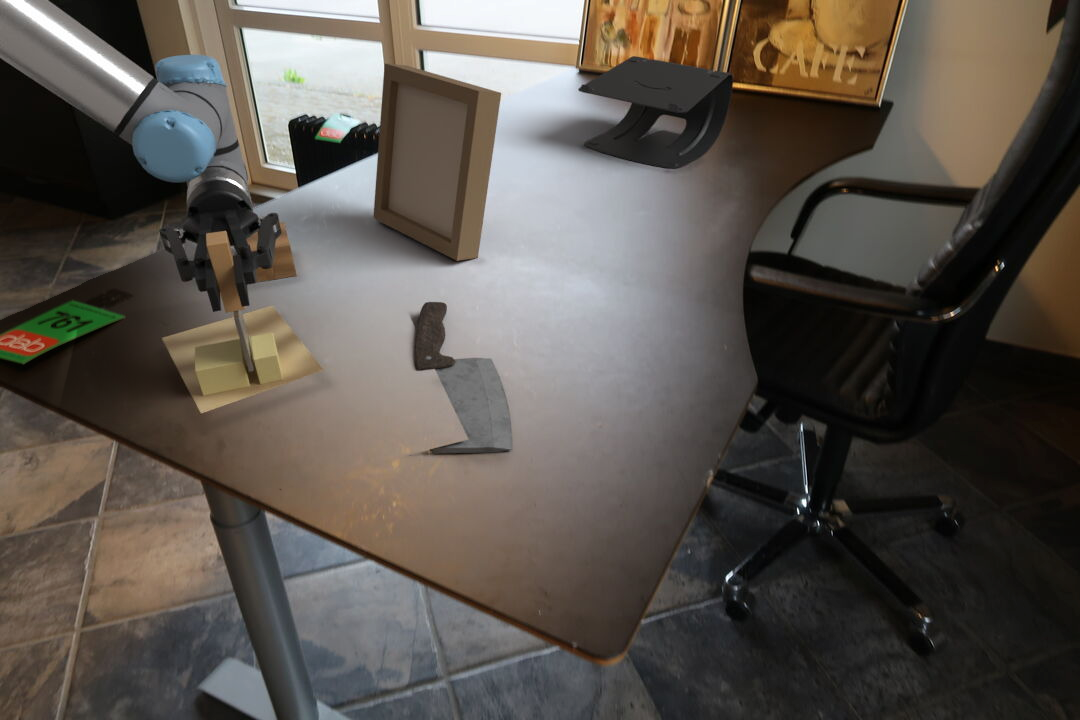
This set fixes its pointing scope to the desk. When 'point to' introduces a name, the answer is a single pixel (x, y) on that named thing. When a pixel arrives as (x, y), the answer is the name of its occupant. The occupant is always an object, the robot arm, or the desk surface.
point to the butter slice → (266, 358)
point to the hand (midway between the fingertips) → (228, 296)
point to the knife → (228, 285)
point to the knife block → (276, 257)
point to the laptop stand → (662, 110)
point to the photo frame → (435, 158)
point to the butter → (221, 367)
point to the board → (257, 322)
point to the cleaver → (464, 388)
